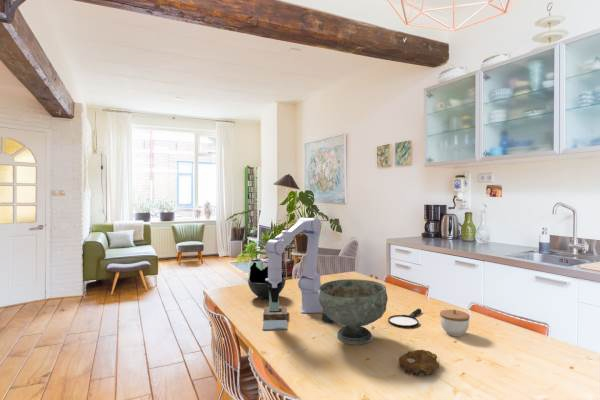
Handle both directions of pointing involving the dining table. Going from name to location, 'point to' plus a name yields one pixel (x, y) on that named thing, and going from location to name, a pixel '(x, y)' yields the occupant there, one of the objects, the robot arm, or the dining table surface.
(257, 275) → the coal bowl
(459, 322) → the lidded jar
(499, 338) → the dining table surface
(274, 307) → the teal block
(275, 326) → the rubber mat
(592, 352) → the dining table surface
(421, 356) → the decorative rock
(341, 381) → the dining table surface
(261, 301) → the dining table surface
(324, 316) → the watch
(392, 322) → the magnifying glass
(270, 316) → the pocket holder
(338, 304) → the decorative bowl
